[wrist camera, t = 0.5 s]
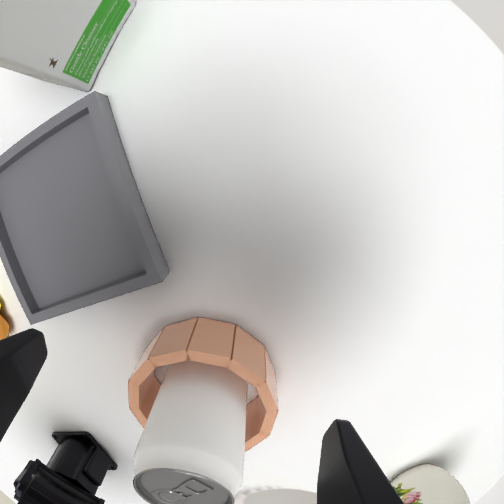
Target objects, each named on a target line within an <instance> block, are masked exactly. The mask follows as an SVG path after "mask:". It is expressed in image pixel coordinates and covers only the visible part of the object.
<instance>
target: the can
mask: <svg viewBox="0 0 504 504" xmlns="http://www.w3.org/2000/svg"><path fill="white" fill-rule="evenodd" d="M246 405H247V381H246V380H244V379H243V378H241V377H240V376H238V375H237V374H235V373H234V372H232V371H231V370H229V369H228V368H227V367H221V366H216V365H211V364H206V363H201V362H196V361H191V360H186V361H182V362H178V363H173V364H170V365H169V367H168V370H167V372H166V374H165V377H164V379H163V382H162V384H161V387H160V389H159V392H158V394H157V397H156V399H155V402H154V404H153V407H152V409H151V412H150V414H149V417H148V420H147V422H146V425H145V427H144V430H143V433H142V435H141V438H140V441H139V443H138V446H137V449H136V452H135V455H134V460H133V465H134V471H135V475H136V476H135V477H134V480H133V485H134V488H135V490H136V492H137V493H138V494H139V495H140V496H141V497H142V498H143V499H144V500H146V501H147V502H149V503H150V504H234V496H235V495H236V494H237V493H238V491H239V489H240V488H241V485H242V481H243V471H244V452H245V429H246Z"/></svg>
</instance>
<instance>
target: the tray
mask: <svg viewBox="0 0 504 504" xmlns="http://www.w3.org/2000/svg"><path fill="white" fill-rule="evenodd" d="M0 257H1V260H2V262H3V265H4V267H5V270H6V272H7V275H8V277H9V279H10V282H11V284H12V286H13V289H14V291H15V293H16V295H17V298H18V300H19V302H20V304H21V306H22V308H23V310H24V312H25V314H26V316H27V318H28V320H29V322H30V324H31V325H32V324H35V323H38V322H41V321H44V320H47V319H50V318H53V317H56V316H59V315H62V314H65V313H68V312H71V311H74V310H77V309H80V308H83V307H86V306H90V305H93V304H96V303H99V302H102V301H105V300H108V299H111V298H114V297H117V296H120V295H123V294H126V293H129V292H132V291H135V290H138V289H141V288H144V287H148V286H151V285H154V284H157V283H160V282H162V281H163V280H164V279H165V278H166V276H167V275H168V274H169V272H170V271H169V269H168V266H167V264H166V261H165V259H164V257H163V254H162V252H161V249H160V247H159V244H158V242H157V239H156V237H155V234H154V232H153V229H152V227H151V224H150V221H149V219H148V216H147V213H146V211H145V208H144V205H143V203H142V200H141V197H140V195H139V192H138V189H137V186H136V184H135V181H134V178H133V175H132V172H131V169H130V166H129V163H128V161H127V158H126V155H125V152H124V149H123V146H122V142H121V139H120V136H119V133H118V130H117V127H116V124H115V120H114V117H113V114H112V110H111V107H110V104H109V100H108V97H107V96H106V95H103V94H101V93H98V92H96V91H94V92H92V93H91V94H89V95H87V96H85V97H84V98H82V99H80V100H79V101H77V102H75V103H74V104H72V105H71V106H69V107H67V108H66V109H64V110H63V111H61V112H60V113H58V114H57V115H55V116H53V117H52V118H50V119H49V120H48V121H46V122H45V123H43V124H42V125H40V126H39V127H37V128H36V129H35V130H33V131H32V132H31V133H29V134H28V135H26V136H25V137H24V138H22V139H21V140H20V141H18V142H17V143H16V144H15V145H13V146H12V147H11V148H9V149H8V150H7V151H6V152H4V153H3V154H2V155H1V156H0Z"/></svg>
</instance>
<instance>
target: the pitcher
mask: <svg viewBox="0 0 504 504" xmlns="http://www.w3.org/2000/svg"><path fill="white" fill-rule="evenodd" d="M391 485H392V486H393V488H394V489H395V491H396V492H397V494H398V495H399V497H400V498H401V500H402V501H403V503H404V504H470V501H469V498H468V496H467V494H466V492H465V490H464V488H463V487H462V485H461V484H460V483H459V482H458V480H457V479H456V478H455V477H454V476H452V475H451V474H450V473H449V472H447V471H446V470H444V469H442V468H440V467H437V466H434V465H431V464H422V465H419V466H416V467H413V468H411V469H409V470H407V471H405V472H403V473H401V474H400V475H398V476H397V477H396V478H395V479H394V480H393V481H392V482H391Z"/></svg>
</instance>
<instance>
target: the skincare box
mask: <svg viewBox="0 0 504 504" xmlns="http://www.w3.org/2000/svg"><path fill="white" fill-rule="evenodd" d="M135 5H136V1H135V0H0V67H3V68H6V69H9V70H12V71H16V72H19V73H22V74H25V75H28V76H31V77H34V78H37V79H41V80H44V81H47V82H51V83H54V84H58V85H62V86H66V87H70V88H74V89H78V90H82V91H86V92H87V91H89V90H90V89H91V87H92V85H93V82H94V80H95V78H96V75H97V73H98V71H99V69H100V67H101V66H102V64H103V62H104V60H105V58H106V56H107V54H108V52H109V50H110V48H111V46H112V44H113V42H114V40H115V39H116V37H117V35H118V33H119V31H120V30H121V28H122V26H123V24H124V23H125V21H126V20H127V18H128V16H129V15H130V13H131V11H132V10H133V8H134V7H135Z"/></svg>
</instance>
